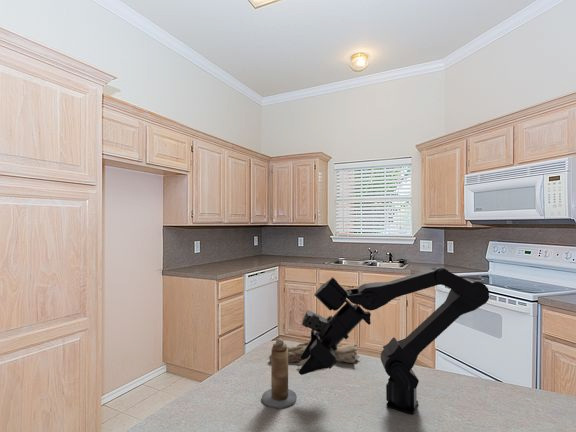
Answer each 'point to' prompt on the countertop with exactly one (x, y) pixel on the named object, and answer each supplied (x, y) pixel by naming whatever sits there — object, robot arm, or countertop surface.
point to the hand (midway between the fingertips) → (300, 365)
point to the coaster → (279, 404)
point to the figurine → (341, 353)
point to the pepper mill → (279, 371)
